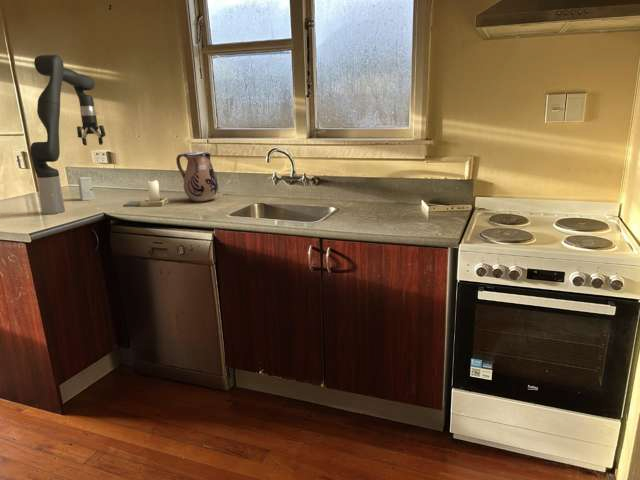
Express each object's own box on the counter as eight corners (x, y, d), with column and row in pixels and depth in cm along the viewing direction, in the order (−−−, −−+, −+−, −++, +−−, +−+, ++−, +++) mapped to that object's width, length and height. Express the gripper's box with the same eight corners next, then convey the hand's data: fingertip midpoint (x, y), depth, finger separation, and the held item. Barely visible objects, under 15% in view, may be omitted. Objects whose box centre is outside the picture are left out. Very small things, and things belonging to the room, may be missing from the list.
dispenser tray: (162, 206, 238) (161, 201, 237) (140, 206, 238) (140, 202, 238) (169, 202, 249) (168, 198, 248) (148, 202, 249) (148, 198, 248)
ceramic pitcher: (214, 203, 244) (210, 154, 237) (174, 203, 245) (169, 154, 238) (222, 197, 261) (218, 151, 254) (184, 197, 261) (179, 151, 255)
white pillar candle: (158, 205, 241) (155, 181, 238) (148, 205, 241) (145, 181, 238) (161, 203, 246) (159, 179, 243) (151, 203, 246) (149, 179, 243)
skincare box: (83, 200, 256) (79, 178, 253) (80, 199, 259) (76, 177, 256) (94, 199, 260) (91, 177, 257) (92, 198, 263) (88, 176, 260)
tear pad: (140, 206, 239) (140, 204, 239) (123, 206, 239) (123, 204, 239) (148, 202, 248) (147, 201, 248) (131, 202, 249) (130, 201, 248)
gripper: (72, 115, 256) (77, 146, 260) (98, 114, 256) (102, 144, 260) (79, 115, 263) (83, 145, 267) (104, 114, 263) (108, 144, 267)
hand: (93, 145), depth 263 cm, fingers open, 8 cm apart
